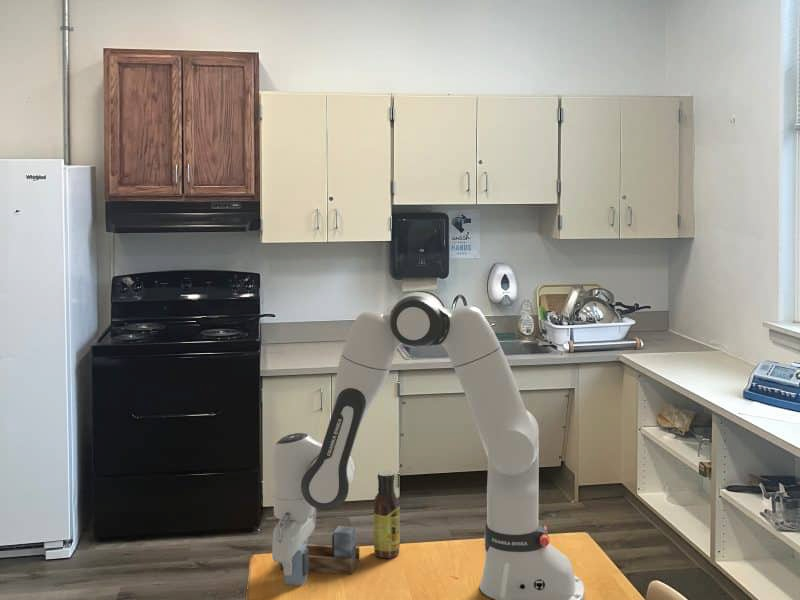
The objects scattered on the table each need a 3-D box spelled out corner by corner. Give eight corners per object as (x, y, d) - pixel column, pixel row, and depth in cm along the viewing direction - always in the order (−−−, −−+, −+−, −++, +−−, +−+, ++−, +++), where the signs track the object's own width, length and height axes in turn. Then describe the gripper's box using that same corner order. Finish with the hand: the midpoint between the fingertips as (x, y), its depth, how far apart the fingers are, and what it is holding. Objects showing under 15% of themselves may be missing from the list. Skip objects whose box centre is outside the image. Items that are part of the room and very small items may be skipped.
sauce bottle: (396, 560, 207) (395, 478, 205) (371, 558, 208) (369, 477, 206) (402, 549, 213) (401, 470, 211) (377, 547, 214) (376, 469, 212)
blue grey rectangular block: (310, 577, 198) (309, 543, 197) (304, 585, 194) (303, 550, 193) (290, 576, 199) (289, 542, 198) (284, 583, 195) (283, 549, 194)
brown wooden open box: (359, 561, 207) (358, 524, 206) (351, 574, 199) (351, 536, 198) (290, 556, 210) (289, 520, 209) (280, 569, 202) (279, 531, 201)
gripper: (292, 524, 184) (293, 586, 185) (320, 492, 204) (321, 549, 205) (264, 522, 185) (265, 584, 187) (294, 490, 205) (295, 547, 207)
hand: (295, 565), depth 196 cm, fingers open, 8 cm apart
